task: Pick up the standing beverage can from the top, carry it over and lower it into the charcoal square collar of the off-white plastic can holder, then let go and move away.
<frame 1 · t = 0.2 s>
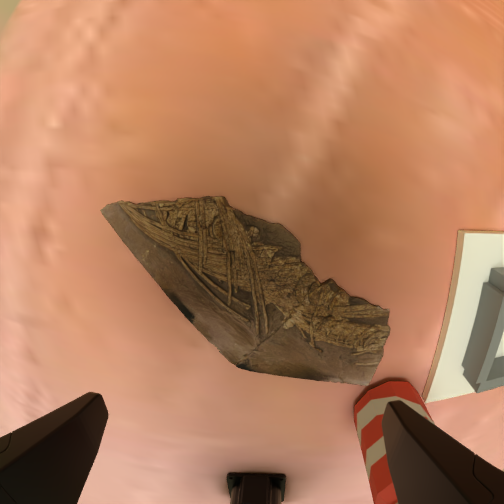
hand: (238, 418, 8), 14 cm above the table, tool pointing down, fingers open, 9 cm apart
brown fossil slab: (250, 295, 23), on the table
beverage can: (383, 400, 25), on the table
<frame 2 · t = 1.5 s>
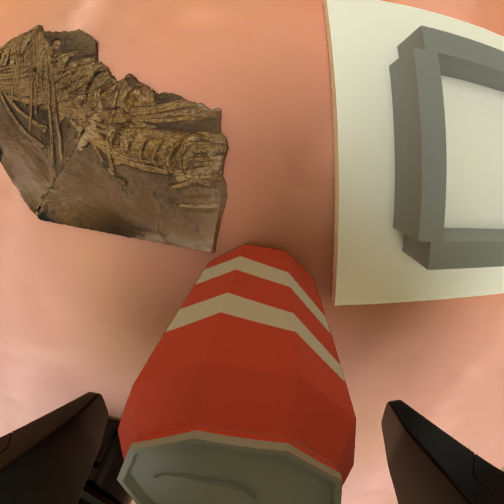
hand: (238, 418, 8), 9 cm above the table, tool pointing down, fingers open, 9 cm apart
brown fossil slab: (54, 119, 15), on the table
can holder: (468, 154, 14), on the table
beverage can: (256, 297, 17), on the table
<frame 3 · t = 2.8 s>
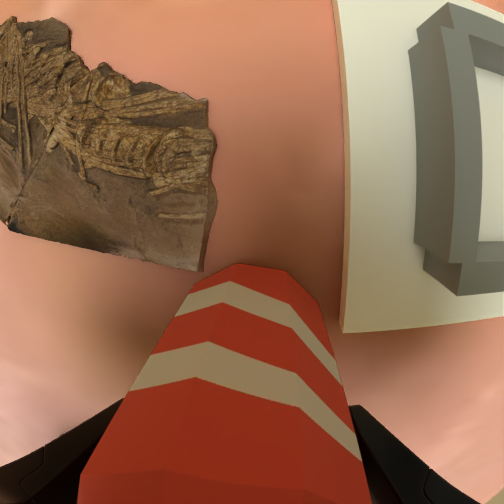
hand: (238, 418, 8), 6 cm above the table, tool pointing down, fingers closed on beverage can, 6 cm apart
brown fossil slab: (24, 118, 13), on the table
can holder: (494, 155, 11), on the table
beverage can: (251, 323, 14), on the table, touching gripper
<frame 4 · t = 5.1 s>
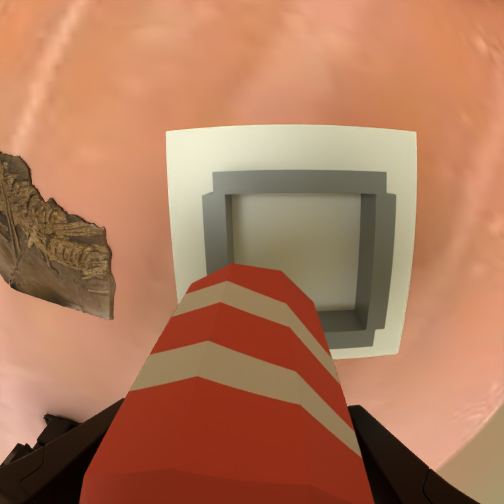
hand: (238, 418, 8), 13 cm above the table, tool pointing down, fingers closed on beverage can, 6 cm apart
brown fossil slab: (12, 220, 22), on the table
can holder: (296, 249, 21), on the table
beverage can: (247, 322, 15), point 7 cm above the table, touching gripper
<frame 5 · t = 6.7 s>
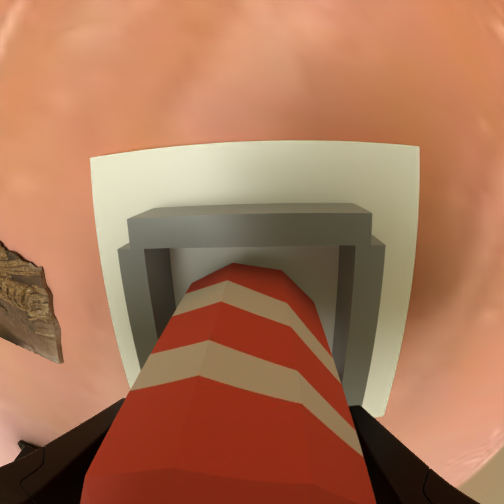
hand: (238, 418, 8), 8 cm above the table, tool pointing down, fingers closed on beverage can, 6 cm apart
can holder: (255, 302, 17), on the table
beverage can: (247, 322, 15), point 2 cm above the table, touching gripper
when the fingers open (8 cm above the table, at t = 7.7 s): beverage can drops 1 cm, resting on can holder.
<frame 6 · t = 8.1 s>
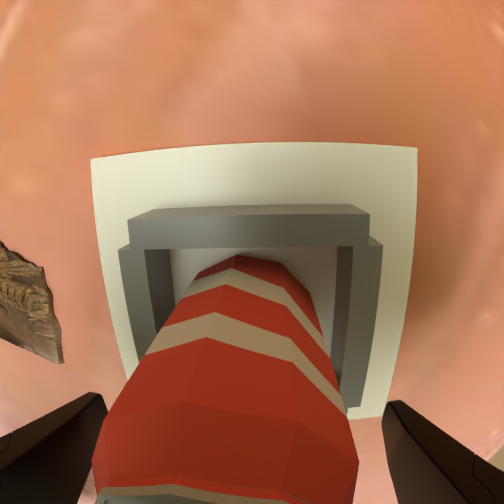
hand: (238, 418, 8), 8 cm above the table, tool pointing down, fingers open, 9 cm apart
can holder: (254, 302, 17), on the table
beverage can: (248, 311, 16), point 1 cm above the table, touching can holder
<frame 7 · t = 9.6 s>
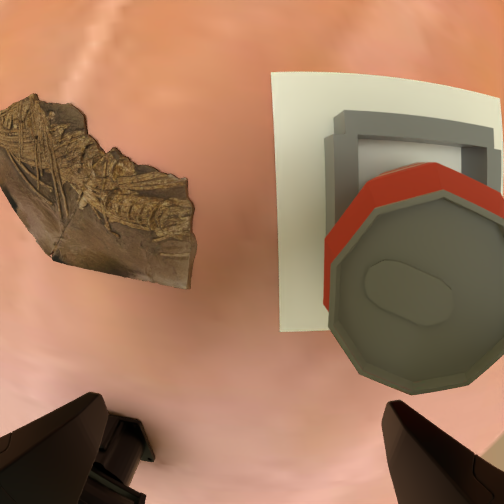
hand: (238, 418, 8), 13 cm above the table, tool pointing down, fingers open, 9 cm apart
brown fossil slab: (57, 179, 20), on the table
can holder: (401, 205, 18), on the table
beverage can: (415, 217, 17), point 2 cm above the table, touching can holder
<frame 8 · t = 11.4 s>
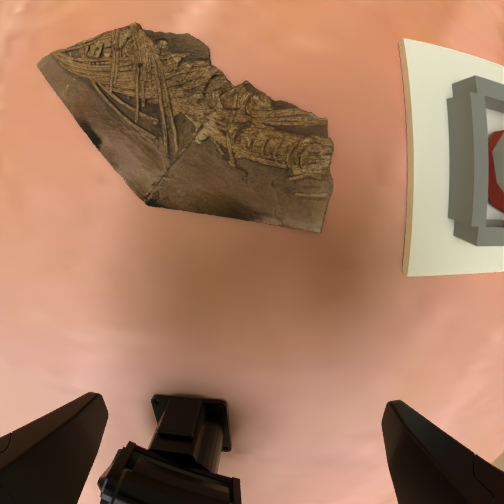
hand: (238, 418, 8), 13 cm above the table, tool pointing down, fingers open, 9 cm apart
brown fossil slab: (161, 113, 19), on the table
can holder: (495, 165, 18), on the table
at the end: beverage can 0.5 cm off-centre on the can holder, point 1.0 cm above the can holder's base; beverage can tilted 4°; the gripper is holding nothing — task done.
